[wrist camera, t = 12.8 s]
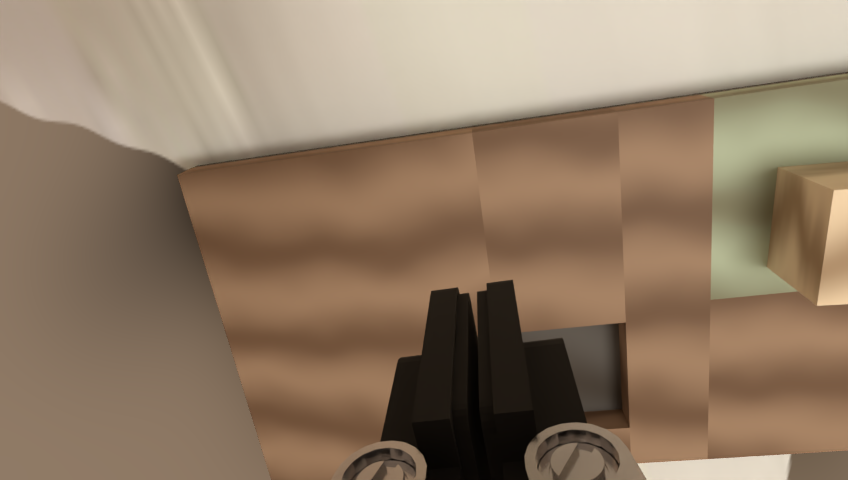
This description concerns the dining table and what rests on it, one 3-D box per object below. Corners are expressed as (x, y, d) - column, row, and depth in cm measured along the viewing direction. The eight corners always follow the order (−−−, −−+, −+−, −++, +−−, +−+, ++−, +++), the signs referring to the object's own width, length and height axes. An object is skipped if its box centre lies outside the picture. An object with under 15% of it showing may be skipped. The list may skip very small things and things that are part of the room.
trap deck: (196, 165, 36) (176, 174, 33) (1114, 33, 29) (1171, 33, 27) (283, 461, 43) (273, 485, 41) (1022, 412, 37) (1059, 437, 34)
